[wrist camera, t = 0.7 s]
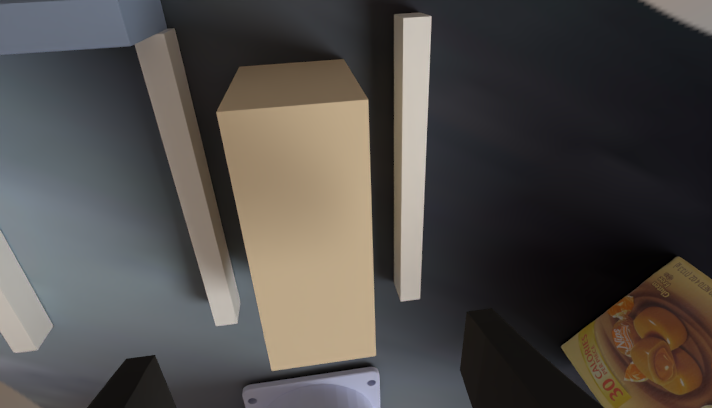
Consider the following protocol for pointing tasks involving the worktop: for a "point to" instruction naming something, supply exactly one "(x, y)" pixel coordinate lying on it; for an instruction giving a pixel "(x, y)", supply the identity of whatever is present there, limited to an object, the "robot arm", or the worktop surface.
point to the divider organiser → (185, 149)
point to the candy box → (651, 344)
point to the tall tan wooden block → (304, 206)
